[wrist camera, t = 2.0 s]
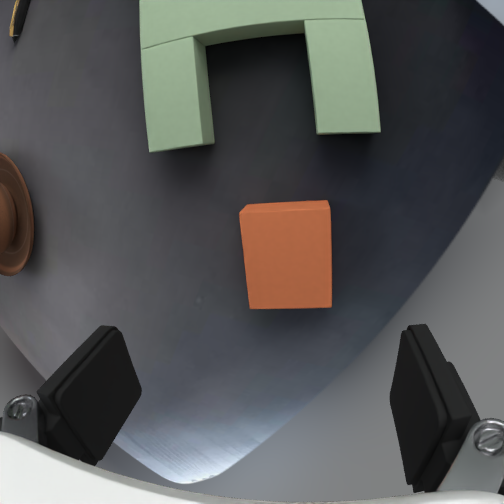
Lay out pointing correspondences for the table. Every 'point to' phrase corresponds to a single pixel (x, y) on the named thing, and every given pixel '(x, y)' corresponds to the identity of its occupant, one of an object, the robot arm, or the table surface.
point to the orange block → (287, 254)
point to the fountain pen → (18, 18)
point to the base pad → (245, 27)
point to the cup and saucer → (14, 219)
